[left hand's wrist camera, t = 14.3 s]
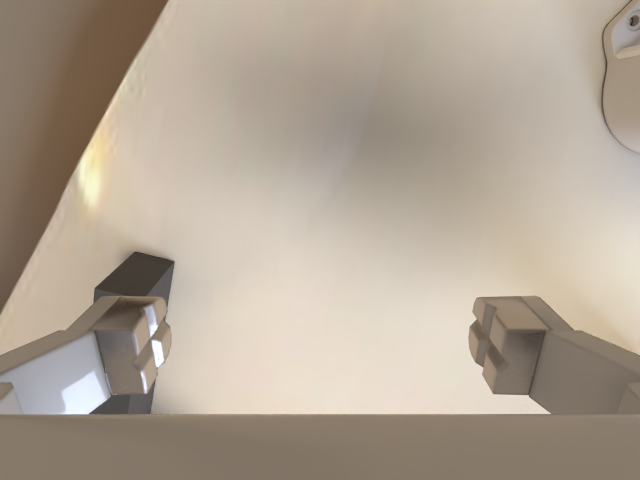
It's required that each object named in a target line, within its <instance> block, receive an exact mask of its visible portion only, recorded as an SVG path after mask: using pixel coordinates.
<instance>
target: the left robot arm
mask: <svg viewBox="0 0 640 480" xmlns="http://www.w3.org/2000/svg"><path fill="white" fill-rule="evenodd" d="M631 17H632V18H633V24H632V25H630V24H629V21H630V19H631ZM603 43H604V49H605V54H606V59H607V73H606V78H605V83H604V89H603V110H604V115H605V119H606V122H607V125H608V127H609V129H610V131H611V132H612V134H613V135H614V137H615V138H616V139H617V140H618V141H619V142H620V143H621V144H623V145H624V146H625V147H627V148H628V149H630V150H632V151H635V152H638V153H640V0H632V1H631V2H630V3H629V4H628V5H627V6H626V7H625V8H624V9H623V10H622V11H621V12H620V13H619V14H618V15H617V16H616V17H615V18H614V19H613V20H612V21H611V22H610V23H609V24H608V25H607V27H606V29H605V31H604V35H603ZM166 313H167V307H166V302H165V300H164V299H163V298H162V297H140V296H124V297H123V296H104V297H100V298H99V299H98V300H97V301H96V302H95V303H94V304H93V305H92V306H91V307H90V308H89V309H88V310H86V311H85V312H84V313H83V314H82V315H81V316H80V317H79V318H78V319H77V320H76V321H75V322H74V323H73V324H72V325H71V326H70V327H69V328H68V329H67V330H66V331H57V332H55V333H52V334H50V335H47V336H45V337H43V338H40V339H38V340H36V341H33V342H31V343H29V344H26V345H24V346H21V347H19V348H17V349H14V350H12V351H10V352H7V353H5V354H2V355H0V480H640V355H637V354H635V353H633V352H630V351H628V350H626V349H623V348H621V347H618V346H616V345H614V344H611V343H609V342H607V341H604V340H602V339H600V338H597V337H595V336H593V335H590V334H588V333H585V332H583V331H574V330H573V329H572V328H571V327H570V326H569V325H568V324H567V323H566V322H565V321H564V320H563V319H562V318H561V317H560V316H559V315H558V314H557V313H556V312H555V311H554V310H553V309H552V308H550V307H549V306H548V305H547V304H546V303H545V302H544V301H543V300H542V299H541V298H540V297H537V296H509V297H479V298H476V300H475V302H474V306H473V313H474V315H475V317H476V318H477V320H476V321H475V322H474V323H473V324H472V325H471V326H470V330H469V348H470V351H471V355H472V357H473V359H474V361H475V362H476V363H477V364H479V365H480V366H482V367H483V373H482V375H483V377H484V379H485V380H486V382H487V384H488V386H489V387H490V389H491V391H492V393H493V394H508V395H529V397H530V398H531V399H533V400H534V401H535V402H537V403H538V404H539V405H541V406H542V407H543V408H544V409H546V410H547V411H548V412H550V413H551V414H89V413H90V412H92V411H93V410H94V409H96V408H97V407H98V406H100V405H101V404H102V403H104V402H105V401H106V400H107V399H109V398H110V397H111V395H132V394H147V393H148V391H149V389H150V387H151V386H152V384H153V382H154V380H155V379H156V377H157V375H158V373H157V367H158V366H160V365H161V364H163V363H164V362H165V361H166V359H167V357H168V355H169V351H170V347H171V329H170V326H169V325H168V324H167V323H166V322H165V321H164V320H163V318H164V317H165V315H166Z"/></svg>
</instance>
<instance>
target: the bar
mask: <svg viewBox="0 0 640 480" xmlns="http://www.w3.org/2000/svg"><path fill="white" fill-rule="evenodd" d="M173 268H174V261H170V260H166V259H162V258H158V257H154V256H150V255H146V254H142V253H138V252H134V253H133V254H132V255H131V256H130V257H129V258H128V259H126V260H125V261H124V262H123V263H122V264H121V265H120V266H119V267H118V268H117V269H115V270H114V271H113V272H112V273H111V274H110V275H109V276H108V277H107V278H106V279H104V280H103V281H102V282H101V283H100V284H99V285H98V286H97V287H96V288H95V291H94V303H95V302H96V301H97V300H98V299H99V298H100V297H104V296H123V297H124V296H140V297H162V298H163V299H164V300H165V302H166V307H167V305H168V299H169V292H170V286H171V280H172V274H173ZM165 317H166V315H165ZM165 317H164V318H163V320H164V321H165ZM154 385H155V380H154V382H153V384H152V386H151V387H150V389H149V391H148V393H147V394H132V395H111V397H110V398H109V399H107V400H106V401H105V402H104V403H102V404H101V405H100V406H98V407H97V408H96V409H94V410H93V411H92V412H90V413H89V414H150V410H151V404H152V398H153V392H154Z"/></svg>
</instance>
